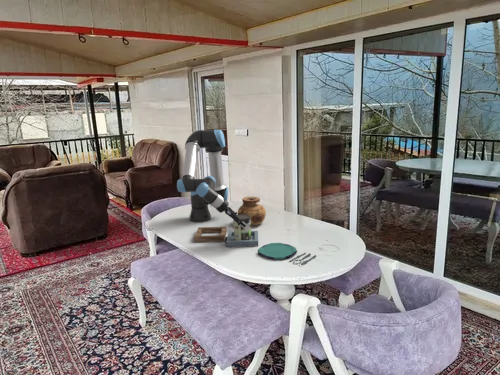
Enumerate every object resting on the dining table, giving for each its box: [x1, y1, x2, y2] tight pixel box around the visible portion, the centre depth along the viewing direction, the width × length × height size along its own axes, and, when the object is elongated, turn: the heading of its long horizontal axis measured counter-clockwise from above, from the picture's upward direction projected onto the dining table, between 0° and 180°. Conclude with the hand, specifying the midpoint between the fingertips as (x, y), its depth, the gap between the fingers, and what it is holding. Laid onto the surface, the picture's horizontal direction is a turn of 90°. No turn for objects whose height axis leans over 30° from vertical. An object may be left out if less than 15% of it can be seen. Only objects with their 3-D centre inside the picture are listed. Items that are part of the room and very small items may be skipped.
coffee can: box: [232, 214, 252, 240], centre depth 217 cm, size 10×10×14 cm
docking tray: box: [226, 230, 259, 248], centre depth 218 cm, size 18×18×3 cm
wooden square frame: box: [193, 226, 228, 243], centre depth 227 cm, size 18×18×3 cm
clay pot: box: [237, 196, 267, 226], centre depth 247 cm, size 19×19×20 cm
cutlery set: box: [257, 242, 317, 266], centre depth 196 cm, size 20×30×2 cm, turn 47°
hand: (246, 225), depth 217 cm, fingers open, 13 cm apart
